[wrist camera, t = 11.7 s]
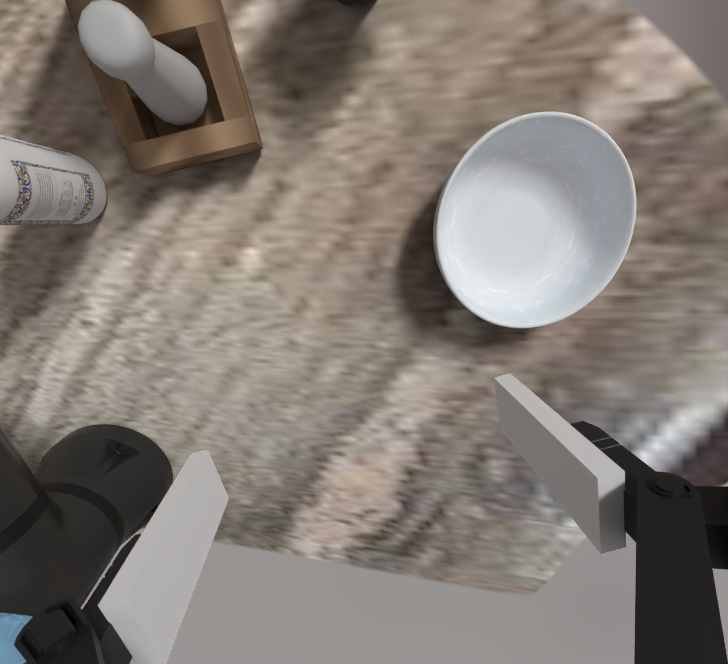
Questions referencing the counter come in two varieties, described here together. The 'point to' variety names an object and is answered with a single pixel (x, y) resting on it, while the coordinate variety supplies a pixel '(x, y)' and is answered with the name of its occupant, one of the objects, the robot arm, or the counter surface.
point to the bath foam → (47, 186)
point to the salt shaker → (142, 62)
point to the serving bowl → (534, 219)
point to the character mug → (364, 1)
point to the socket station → (219, 71)
